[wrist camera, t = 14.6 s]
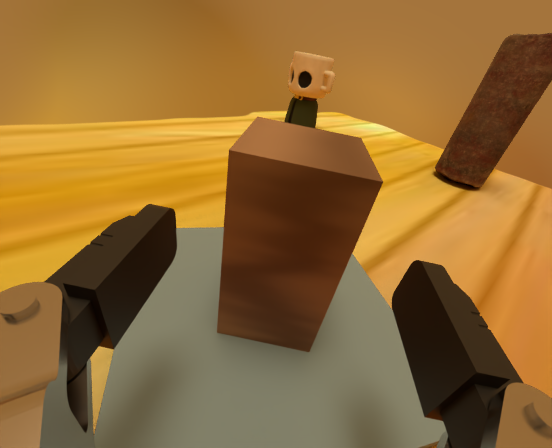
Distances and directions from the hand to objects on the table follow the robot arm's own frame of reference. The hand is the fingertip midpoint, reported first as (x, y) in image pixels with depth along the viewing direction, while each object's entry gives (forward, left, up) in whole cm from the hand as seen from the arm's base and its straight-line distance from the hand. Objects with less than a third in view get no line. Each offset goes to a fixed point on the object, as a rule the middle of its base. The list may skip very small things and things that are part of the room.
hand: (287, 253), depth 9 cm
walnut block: (+1, +3, -7) cm, 8 cm away
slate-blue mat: (+1, +3, -8) cm, 9 cm away
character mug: (+17, +44, -8) cm, 48 cm away
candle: (+38, +24, -8) cm, 46 cm away
